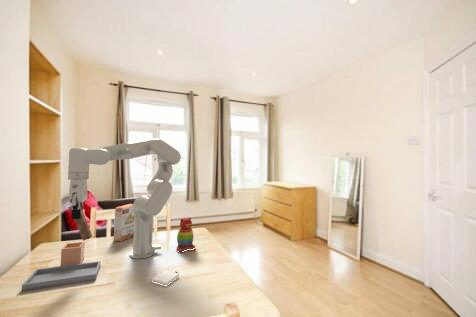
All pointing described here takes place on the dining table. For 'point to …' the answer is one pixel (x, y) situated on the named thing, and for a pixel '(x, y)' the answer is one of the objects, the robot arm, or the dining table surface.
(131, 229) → the cracker box
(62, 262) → the square clay planter
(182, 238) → the stacking bear
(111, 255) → the dining table surface
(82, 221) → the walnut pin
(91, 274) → the grey tray
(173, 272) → the perfume bottle
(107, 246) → the dining table surface
